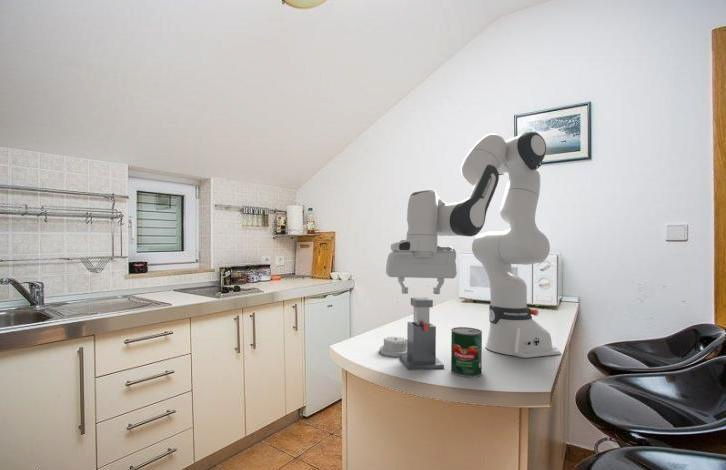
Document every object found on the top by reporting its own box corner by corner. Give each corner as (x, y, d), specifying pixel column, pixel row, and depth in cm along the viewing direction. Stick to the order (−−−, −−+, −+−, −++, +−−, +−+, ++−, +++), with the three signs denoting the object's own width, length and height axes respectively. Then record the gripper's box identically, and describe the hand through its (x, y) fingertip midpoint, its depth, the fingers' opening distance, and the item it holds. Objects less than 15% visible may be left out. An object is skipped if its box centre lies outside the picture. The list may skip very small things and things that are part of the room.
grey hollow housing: (432, 357, 105) (432, 317, 106) (444, 368, 95) (444, 324, 96) (399, 358, 104) (400, 317, 104) (408, 369, 94) (408, 324, 94)
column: (426, 356, 102) (427, 297, 103) (432, 361, 97) (432, 300, 98) (410, 356, 102) (410, 297, 102) (414, 361, 97) (415, 300, 98)
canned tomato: (455, 377, 89) (455, 333, 89) (447, 366, 97) (447, 326, 97) (486, 377, 89) (486, 334, 90) (476, 367, 97) (476, 327, 97)
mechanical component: (412, 358, 104) (410, 349, 114) (412, 343, 105) (411, 335, 114) (378, 357, 105) (380, 348, 115) (379, 342, 106) (380, 334, 115)
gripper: (452, 246, 105) (451, 293, 105) (385, 244, 103) (384, 291, 102) (460, 246, 99) (459, 295, 98) (389, 244, 97) (388, 294, 96)
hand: (420, 293), depth 100 cm, fingers open, 8 cm apart
